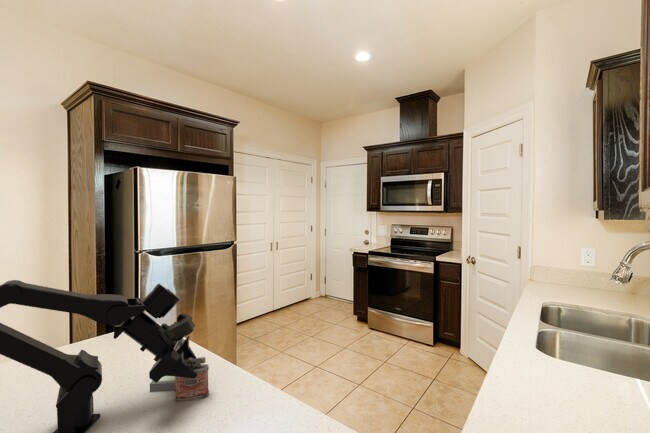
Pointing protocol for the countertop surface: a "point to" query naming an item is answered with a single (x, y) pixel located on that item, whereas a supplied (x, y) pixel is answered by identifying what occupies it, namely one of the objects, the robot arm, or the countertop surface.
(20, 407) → the countertop surface
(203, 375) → the lighter
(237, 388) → the countertop surface
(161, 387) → the baseplate
